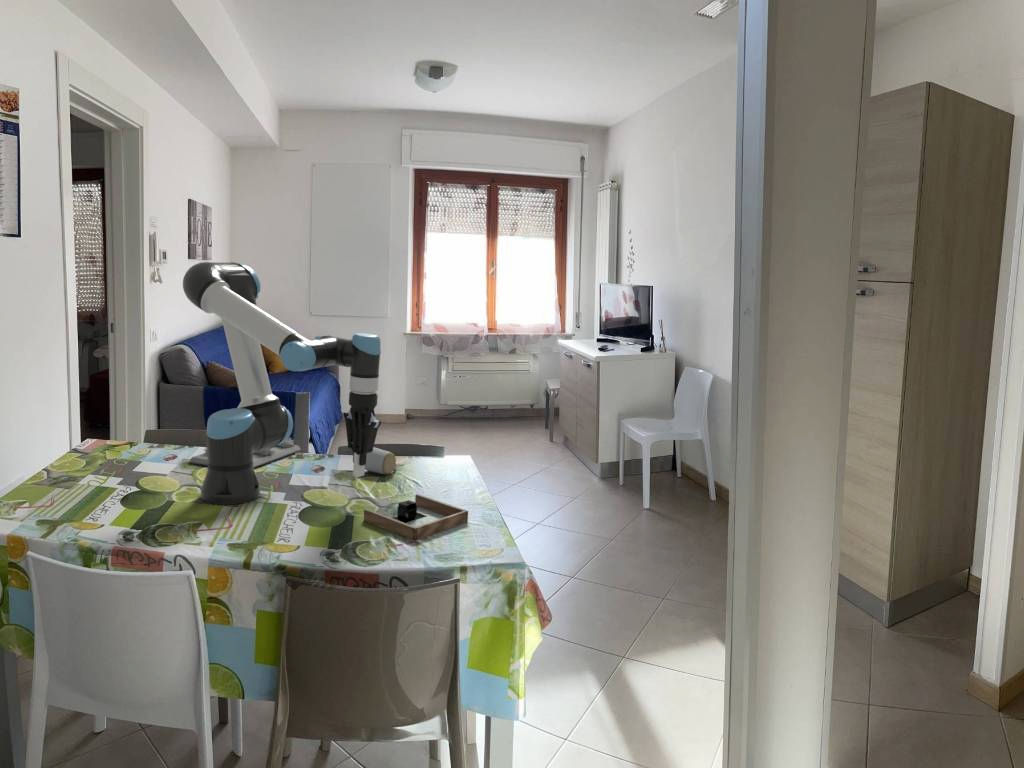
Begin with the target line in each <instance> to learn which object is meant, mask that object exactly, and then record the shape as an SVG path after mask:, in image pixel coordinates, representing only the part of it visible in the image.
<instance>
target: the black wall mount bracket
mask: <svg viewBox="0 0 1024 768" xmlns="http://www.w3.org/2000/svg"><path fill="white" fill-rule="evenodd" d="M417 510H418V506H416V503H415V501H413V500H412V501H411V500H409V499H408V500H405V501H402V502H398V506H397V512H396V513H397V515H395V516H391V517H390V518H393V519H395V520H398V521H401V522H403V523H406V524H408V523H410V522H413V521H417V520H420V519H423V518H426V517H427V515H425V514H423V513H421V512H418V511H417Z"/></svg>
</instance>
